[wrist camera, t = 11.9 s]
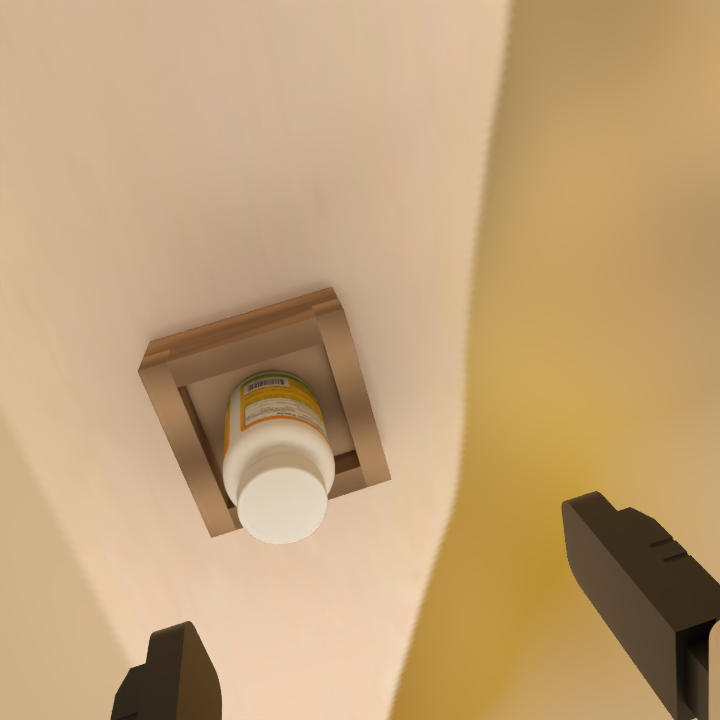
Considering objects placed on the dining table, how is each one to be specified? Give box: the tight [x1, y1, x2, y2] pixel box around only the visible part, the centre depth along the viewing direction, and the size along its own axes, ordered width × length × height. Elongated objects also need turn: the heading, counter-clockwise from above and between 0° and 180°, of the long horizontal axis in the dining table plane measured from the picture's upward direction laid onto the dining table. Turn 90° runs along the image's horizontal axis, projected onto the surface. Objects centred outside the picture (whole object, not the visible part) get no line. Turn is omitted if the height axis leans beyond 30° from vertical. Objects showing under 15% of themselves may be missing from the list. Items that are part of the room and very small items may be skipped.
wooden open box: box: [138, 287, 391, 538], centre depth 36 cm, size 11×11×4 cm
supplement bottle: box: [223, 371, 335, 544], centre depth 32 cm, size 5×5×10 cm
